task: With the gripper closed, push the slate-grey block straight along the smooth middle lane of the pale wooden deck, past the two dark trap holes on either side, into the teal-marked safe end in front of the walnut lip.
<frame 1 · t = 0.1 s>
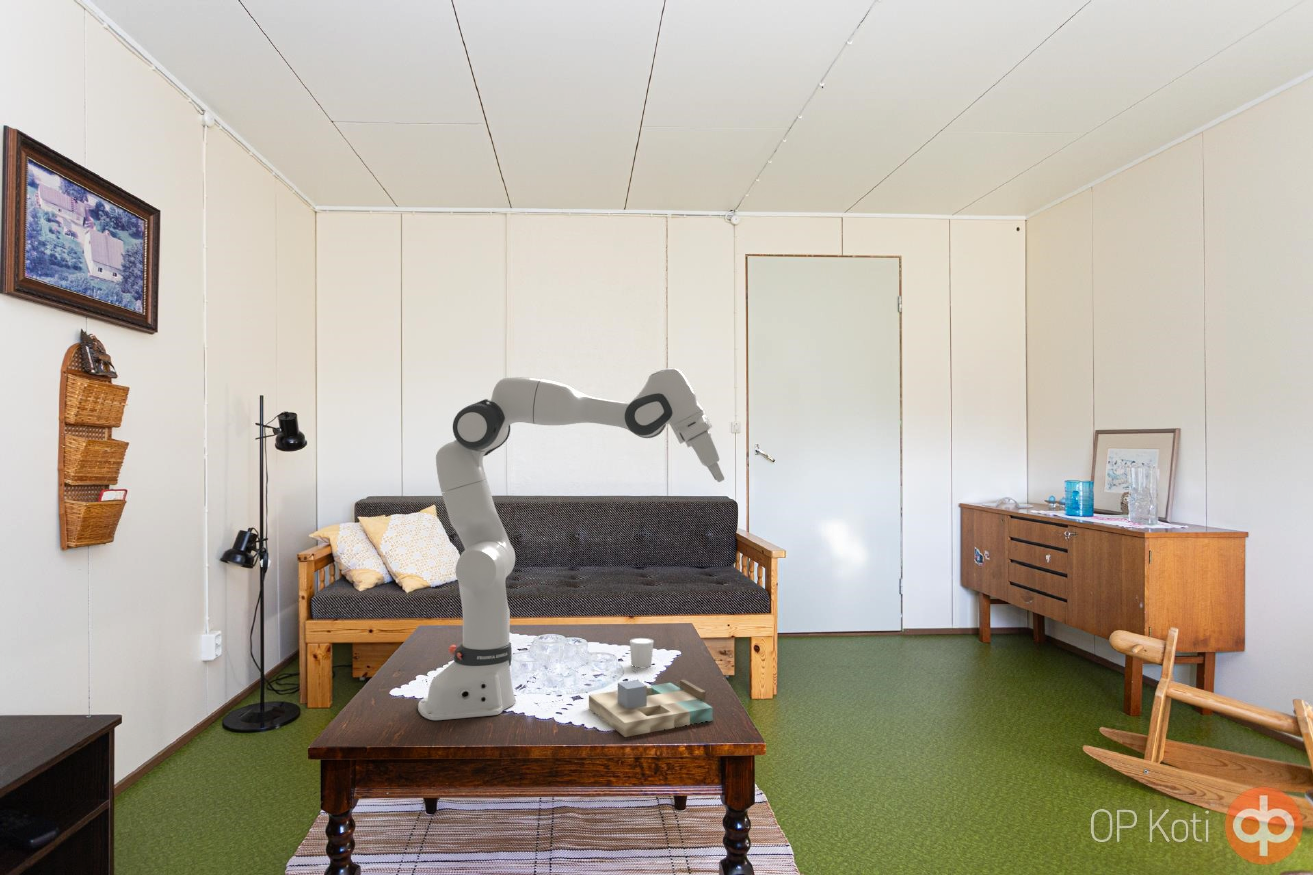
hand: (720, 480, 181), 54 cm above the table, tool tilted 30°, fingers open, 8 cm apart
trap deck: (649, 714, 175), on the table
slate block: (632, 703, 173), point 3 cm above the table, touching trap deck
shot glass: (641, 665, 215), on the table
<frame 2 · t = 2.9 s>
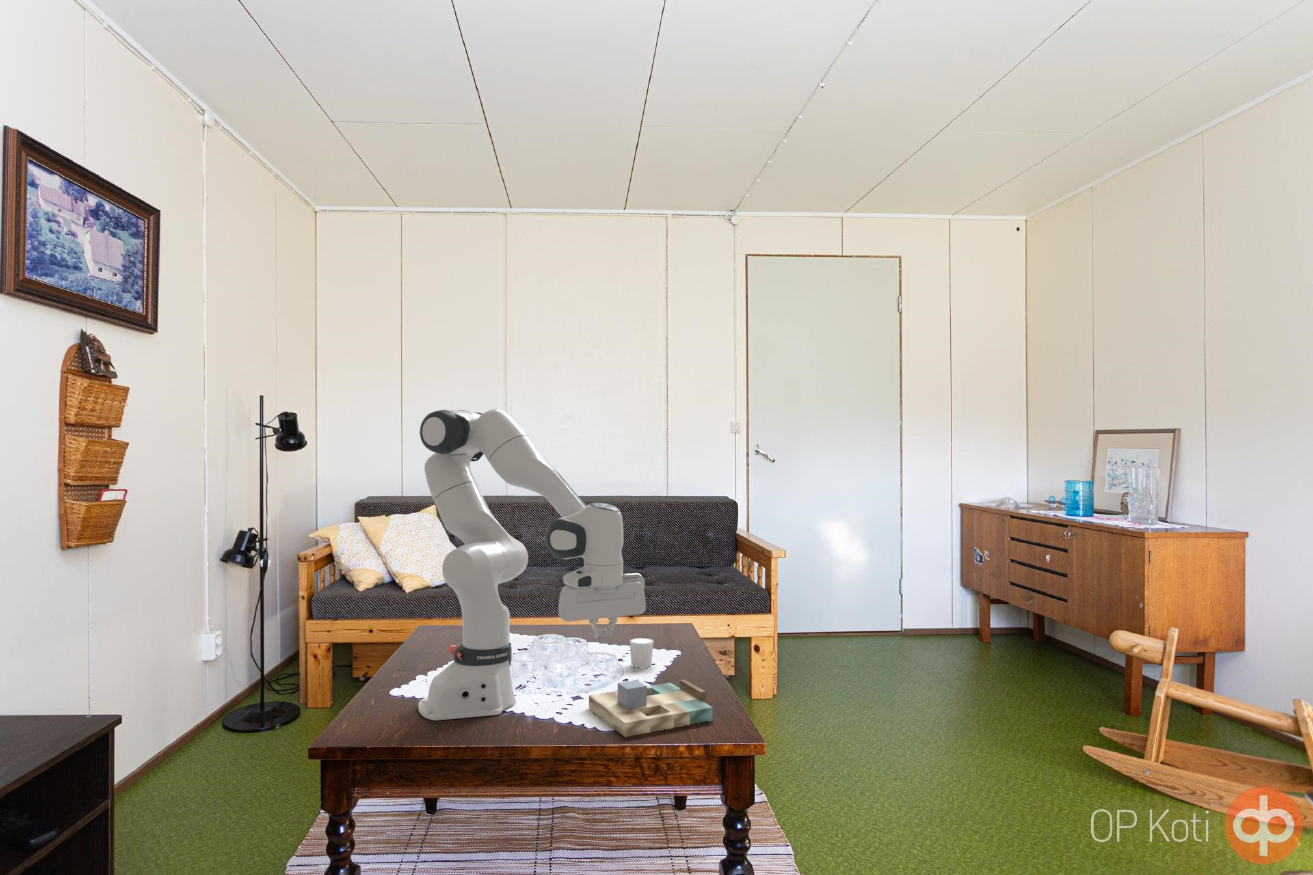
hand: (602, 637, 170), 19 cm above the table, tool pointing down, fingers closed
nothing on the table moved.
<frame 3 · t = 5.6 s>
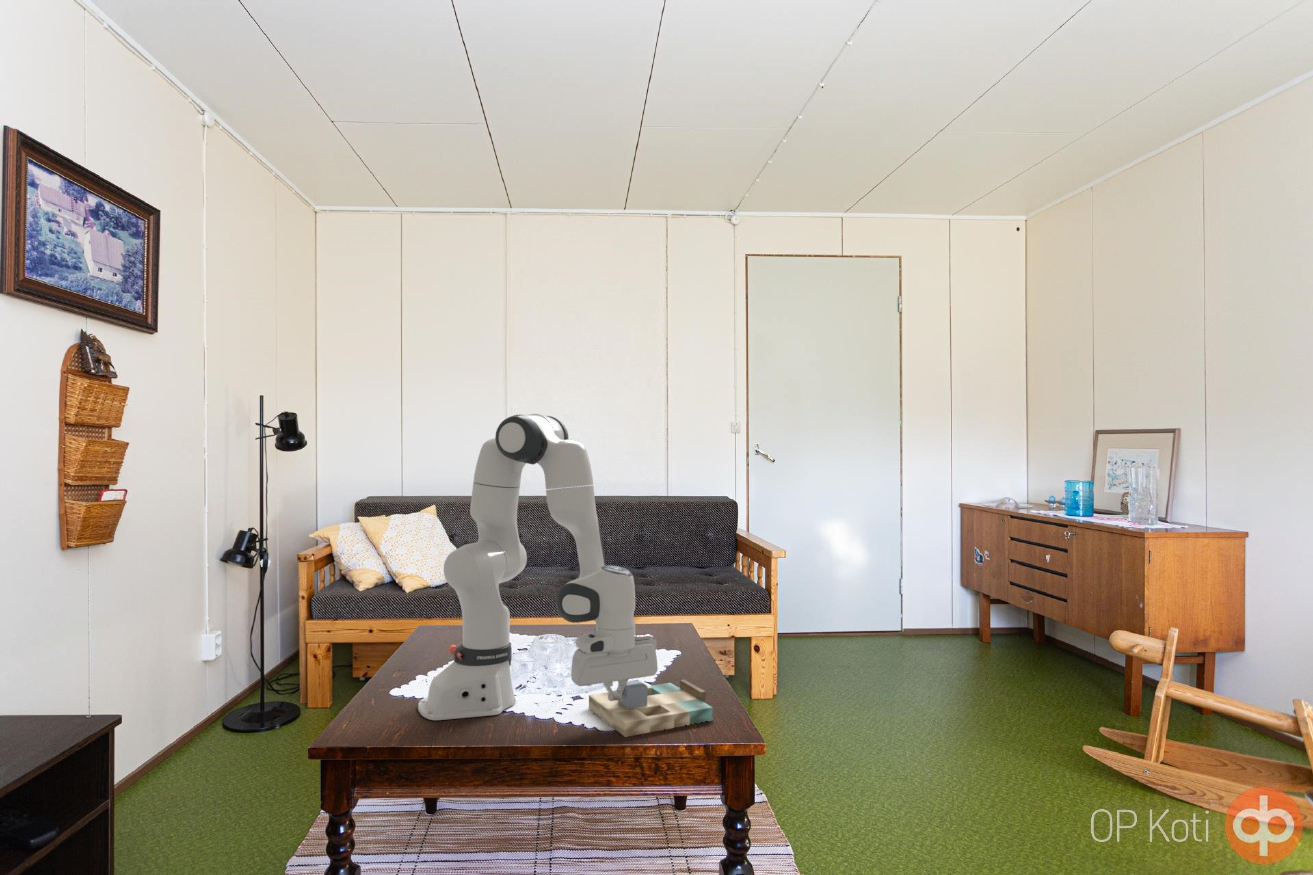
hand: (615, 699, 171), 5 cm above the table, tool pointing down, fingers closed
slate block: (632, 703, 173), point 3 cm above the table, touching gripper, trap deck
everything else where it was.
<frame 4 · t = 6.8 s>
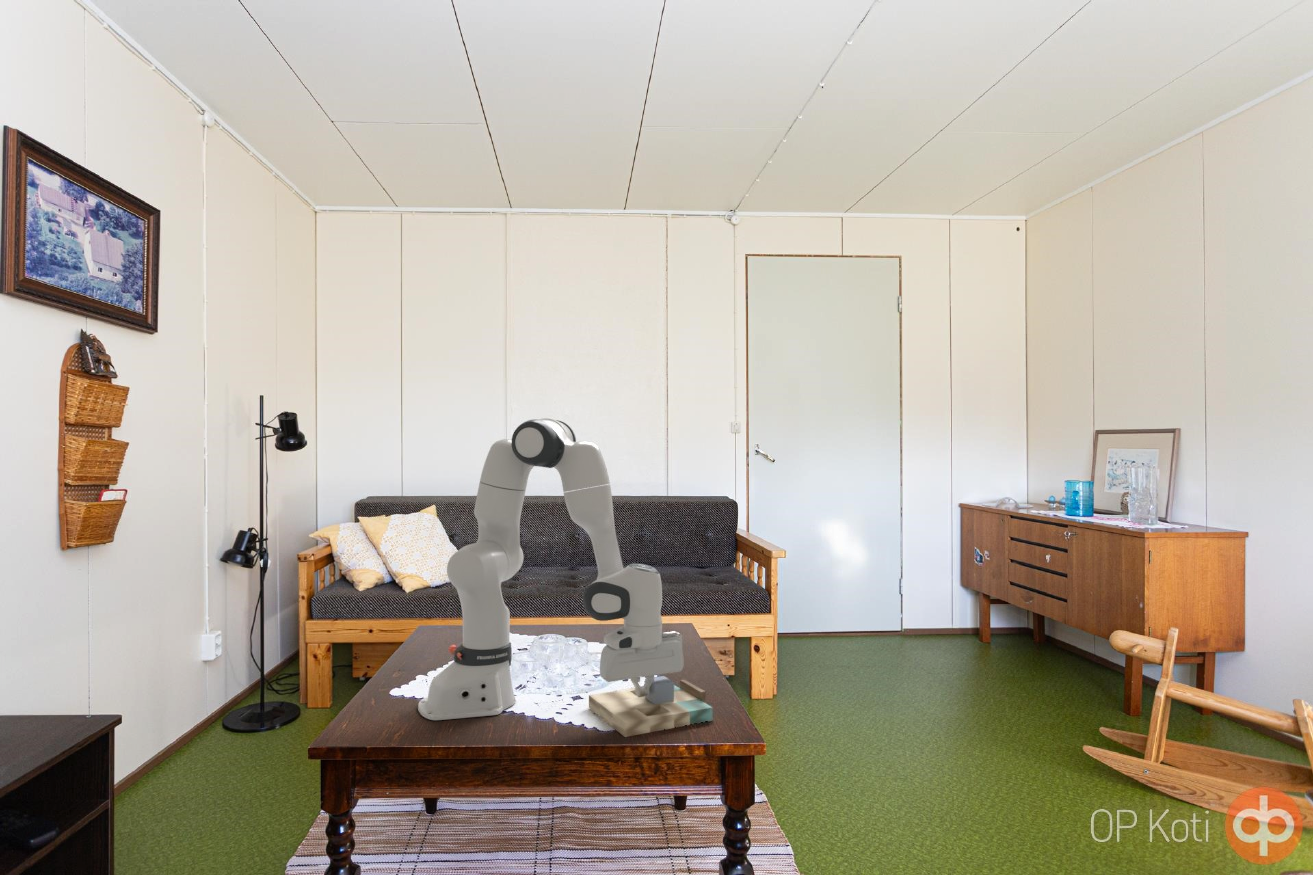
hand: (642, 695, 174), 5 cm above the table, tool pointing down, fingers closed
slate block: (659, 699, 176), point 3 cm above the table, touching gripper
everything else where it was.
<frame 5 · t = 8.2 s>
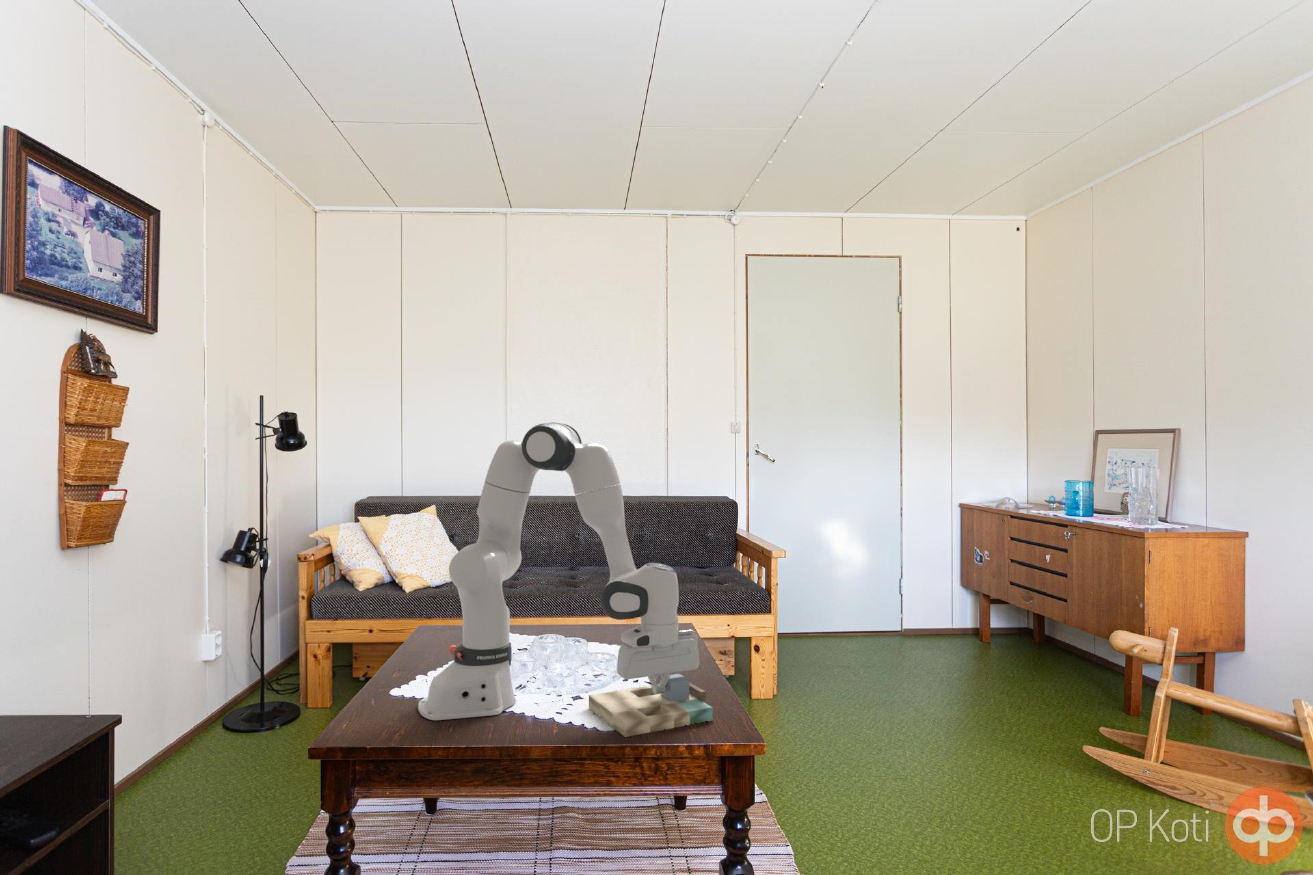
hand: (658, 692, 176), 5 cm above the table, tool pointing down, fingers closed
slate block: (674, 696, 178), point 3 cm above the table, touching gripper, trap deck
everything else where it was.
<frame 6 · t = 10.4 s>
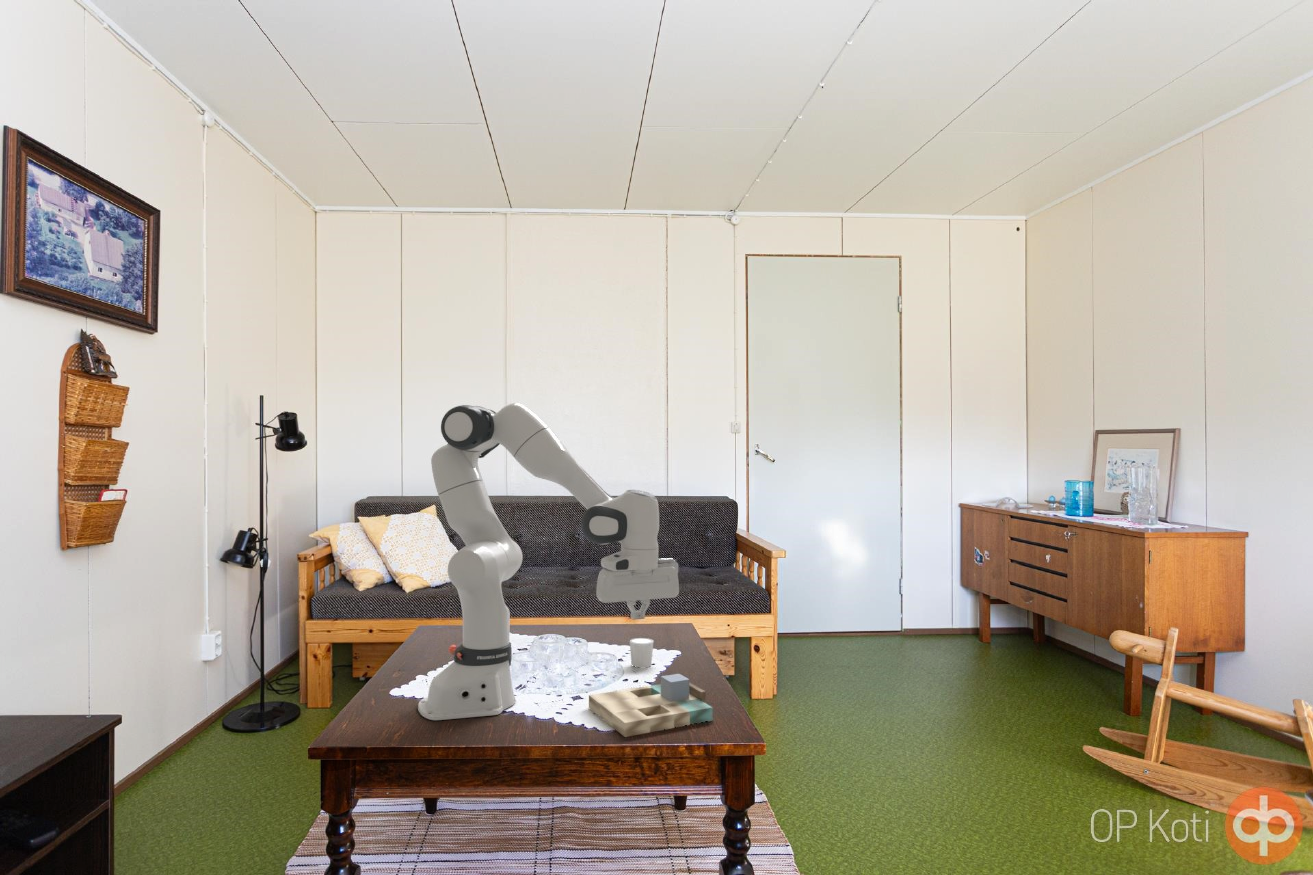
hand: (637, 618, 177), 22 cm above the table, tool pointing down, fingers closed
slate block: (674, 696, 178), point 3 cm above the table, touching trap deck
everything else where it was.
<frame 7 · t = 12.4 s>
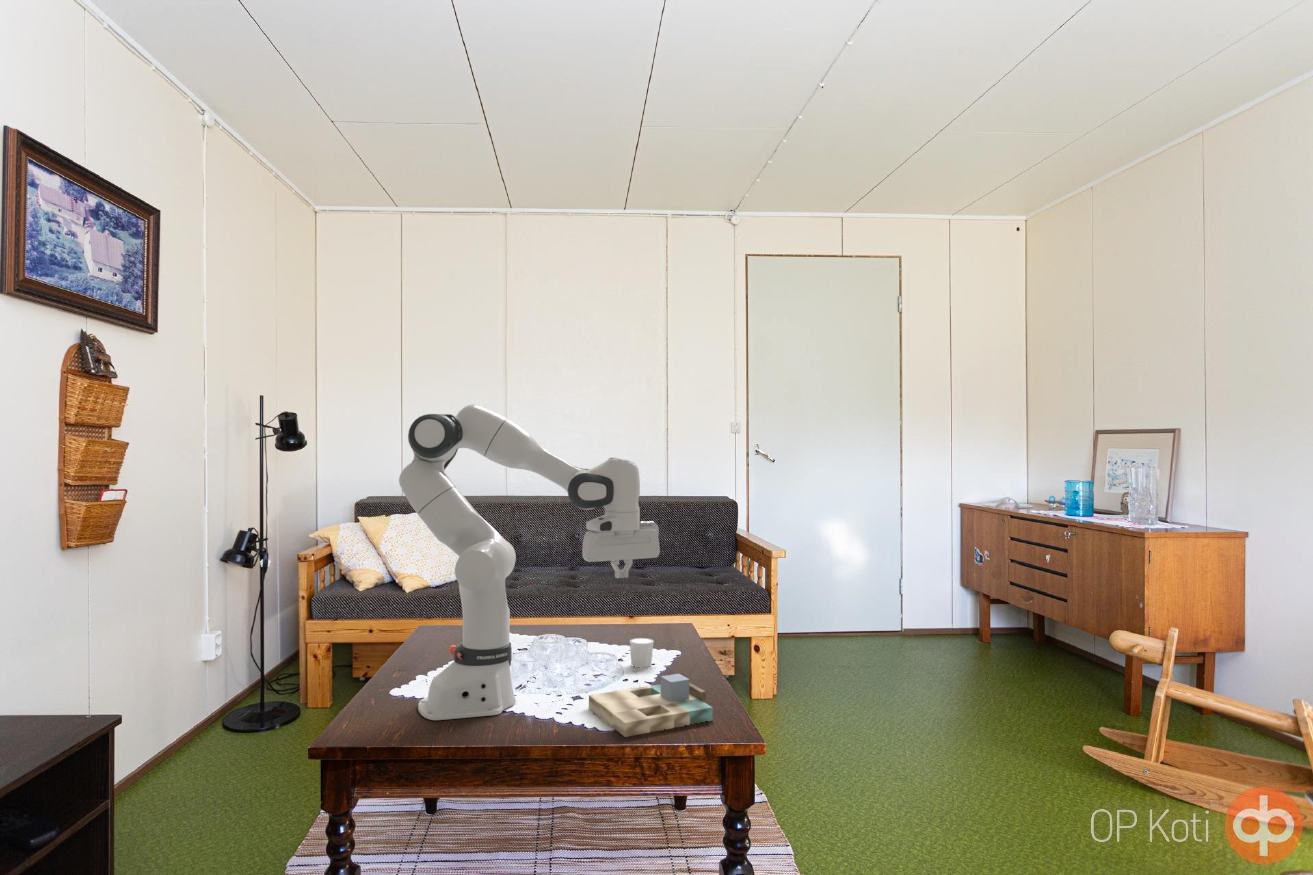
hand: (621, 577, 190), 29 cm above the table, tool pointing down, fingers closed
nothing on the table moved.
at the end: slate block 0.7 cm from the target spot, point 3.0 cm above the table; slate block tilted 0° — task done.
